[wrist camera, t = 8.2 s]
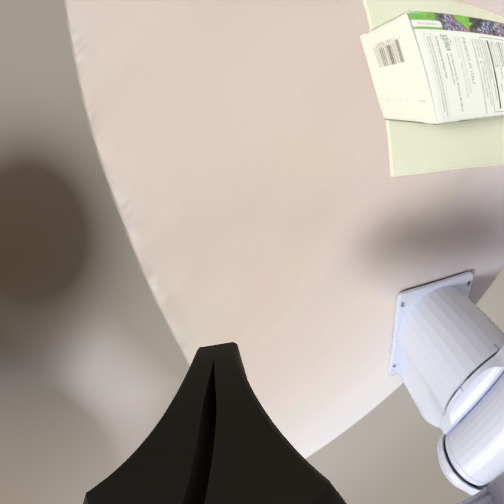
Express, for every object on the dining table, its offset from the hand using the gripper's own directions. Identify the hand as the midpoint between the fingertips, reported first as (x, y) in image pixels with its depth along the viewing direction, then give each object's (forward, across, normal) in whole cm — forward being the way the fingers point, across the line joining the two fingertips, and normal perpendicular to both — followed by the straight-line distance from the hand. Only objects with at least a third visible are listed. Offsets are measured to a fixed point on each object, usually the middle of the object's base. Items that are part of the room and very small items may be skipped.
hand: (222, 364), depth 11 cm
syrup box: (+7, -10, -9) cm, 16 cm away
